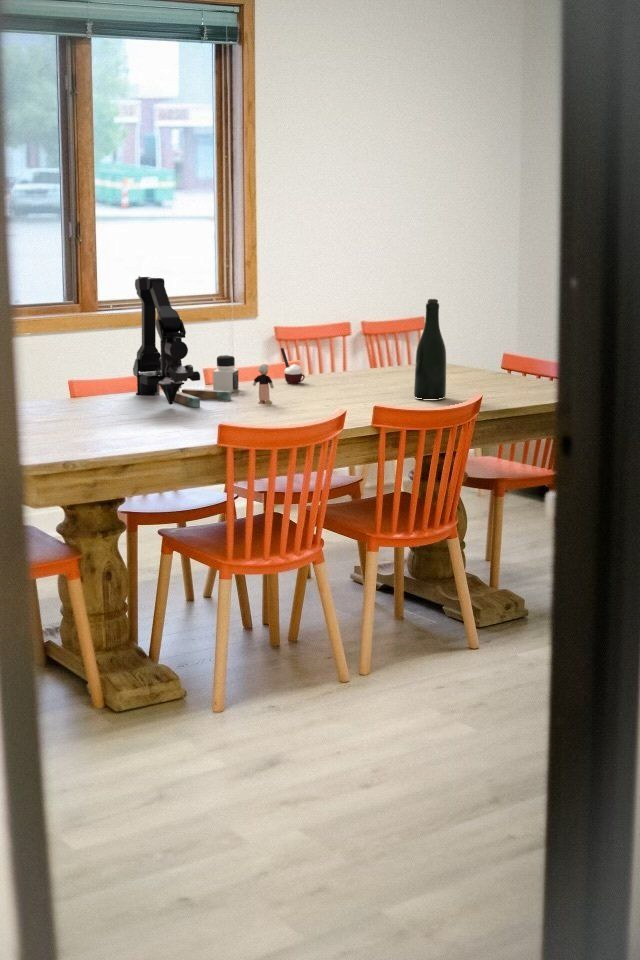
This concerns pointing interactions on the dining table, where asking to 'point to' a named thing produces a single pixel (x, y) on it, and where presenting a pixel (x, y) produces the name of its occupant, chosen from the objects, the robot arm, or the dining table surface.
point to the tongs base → (208, 394)
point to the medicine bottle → (225, 374)
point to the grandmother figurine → (263, 384)
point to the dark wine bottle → (430, 357)
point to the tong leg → (187, 399)
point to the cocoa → (292, 371)
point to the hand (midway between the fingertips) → (170, 404)
